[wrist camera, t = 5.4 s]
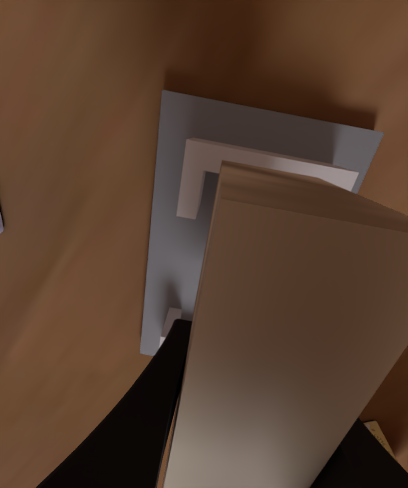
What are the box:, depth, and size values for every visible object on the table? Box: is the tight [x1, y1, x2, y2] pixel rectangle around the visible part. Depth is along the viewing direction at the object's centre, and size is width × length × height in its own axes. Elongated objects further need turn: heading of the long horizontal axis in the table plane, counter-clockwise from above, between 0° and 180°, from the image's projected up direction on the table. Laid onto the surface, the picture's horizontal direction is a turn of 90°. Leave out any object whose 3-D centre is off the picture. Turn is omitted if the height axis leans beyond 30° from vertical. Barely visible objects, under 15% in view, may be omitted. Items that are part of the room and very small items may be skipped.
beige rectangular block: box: [162, 160, 408, 488], centre depth 8 cm, size 4×12×6 cm, turn 171°
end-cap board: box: [140, 90, 384, 356], centre depth 16 cm, size 12×20×4 cm, turn 170°
